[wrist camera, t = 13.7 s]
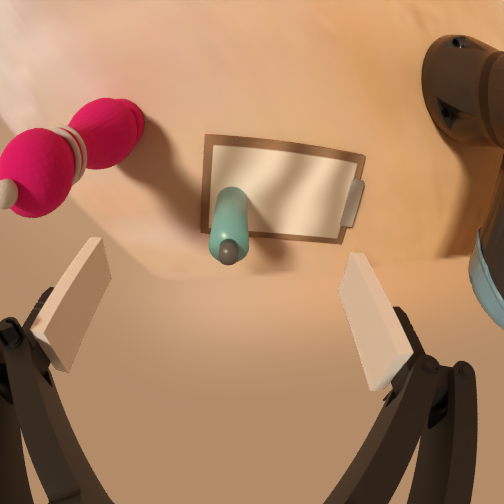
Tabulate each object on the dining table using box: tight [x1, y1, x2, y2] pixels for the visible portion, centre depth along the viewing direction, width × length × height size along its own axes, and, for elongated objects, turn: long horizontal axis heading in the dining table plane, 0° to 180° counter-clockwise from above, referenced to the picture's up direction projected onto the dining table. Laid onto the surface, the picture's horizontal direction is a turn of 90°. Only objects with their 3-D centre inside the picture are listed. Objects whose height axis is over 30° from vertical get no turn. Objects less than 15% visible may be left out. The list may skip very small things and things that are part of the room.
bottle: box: [209, 187, 249, 265], centre depth 28 cm, size 3×3×11 cm
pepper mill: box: [0, 98, 144, 218], centre depth 19 cm, size 7×7×20 cm
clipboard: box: [201, 134, 366, 244], centre depth 32 cm, size 18×12×1 cm, turn 84°
